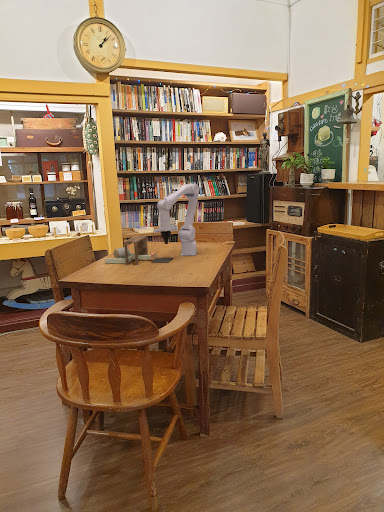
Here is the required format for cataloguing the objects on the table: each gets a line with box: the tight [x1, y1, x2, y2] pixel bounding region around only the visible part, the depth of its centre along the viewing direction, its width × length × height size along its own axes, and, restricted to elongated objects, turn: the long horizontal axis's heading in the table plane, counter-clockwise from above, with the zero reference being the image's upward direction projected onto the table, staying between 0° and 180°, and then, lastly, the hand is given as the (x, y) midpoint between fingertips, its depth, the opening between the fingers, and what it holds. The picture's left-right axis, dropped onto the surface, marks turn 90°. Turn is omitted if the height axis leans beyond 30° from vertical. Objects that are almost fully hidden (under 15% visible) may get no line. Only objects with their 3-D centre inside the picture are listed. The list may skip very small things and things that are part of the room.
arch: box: [123, 234, 149, 266], centre depth 219 cm, size 7×22×14 cm, turn 170°
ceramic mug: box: [113, 246, 131, 258], centre depth 222 cm, size 11×8×8 cm
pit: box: [151, 257, 174, 264], centre depth 217 cm, size 10×12×1 cm
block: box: [104, 251, 158, 264], centre depth 220 cm, size 28×17×4 cm, turn 80°
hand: (166, 243), depth 216 cm, fingers closed
